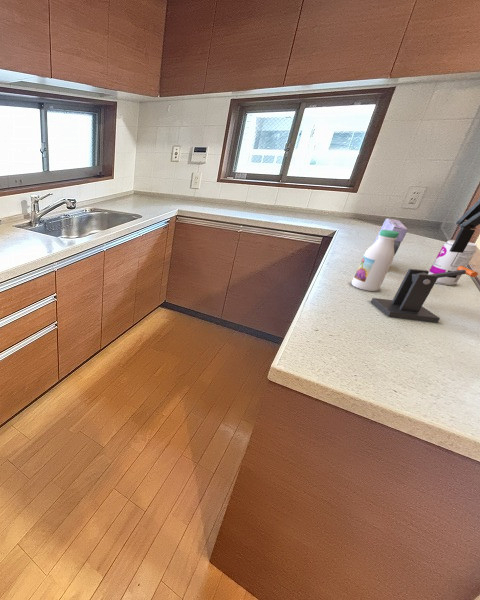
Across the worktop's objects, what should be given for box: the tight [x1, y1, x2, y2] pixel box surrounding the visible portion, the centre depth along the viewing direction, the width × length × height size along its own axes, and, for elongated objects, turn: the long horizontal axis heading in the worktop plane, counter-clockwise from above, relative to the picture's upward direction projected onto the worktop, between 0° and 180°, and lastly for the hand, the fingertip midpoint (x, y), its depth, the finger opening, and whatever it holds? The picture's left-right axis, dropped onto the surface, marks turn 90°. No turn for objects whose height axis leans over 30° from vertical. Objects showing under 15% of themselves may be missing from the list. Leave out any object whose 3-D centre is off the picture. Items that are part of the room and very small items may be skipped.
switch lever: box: [412, 266, 479, 282], centre depth 91 cm, size 12×5×2 cm, turn 75°
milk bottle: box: [351, 230, 399, 292], centre depth 110 cm, size 8×8×20 cm
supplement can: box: [428, 239, 478, 286], centre depth 118 cm, size 8×8×15 cm
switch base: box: [370, 268, 441, 324], centre depth 95 cm, size 12×10×13 cm
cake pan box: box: [373, 217, 409, 257], centre depth 133 cm, size 19×5×18 cm, turn 147°
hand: (474, 259), depth 88 cm, fingers open, 13 cm apart
